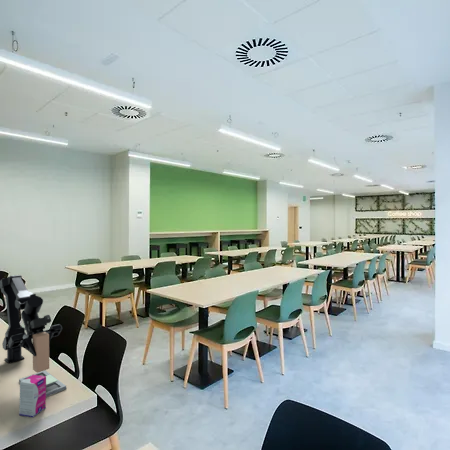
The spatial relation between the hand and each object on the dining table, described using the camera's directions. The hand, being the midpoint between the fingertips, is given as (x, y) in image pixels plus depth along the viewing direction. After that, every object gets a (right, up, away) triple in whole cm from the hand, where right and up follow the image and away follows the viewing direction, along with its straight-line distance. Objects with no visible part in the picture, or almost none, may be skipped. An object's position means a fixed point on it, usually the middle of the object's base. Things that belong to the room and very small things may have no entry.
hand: (42, 353), depth 127 cm
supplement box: (+7, -13, -17) cm, 23 cm away
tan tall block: (-1, -7, +1) cm, 7 cm away
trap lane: (0, -13, +1) cm, 13 cm away
